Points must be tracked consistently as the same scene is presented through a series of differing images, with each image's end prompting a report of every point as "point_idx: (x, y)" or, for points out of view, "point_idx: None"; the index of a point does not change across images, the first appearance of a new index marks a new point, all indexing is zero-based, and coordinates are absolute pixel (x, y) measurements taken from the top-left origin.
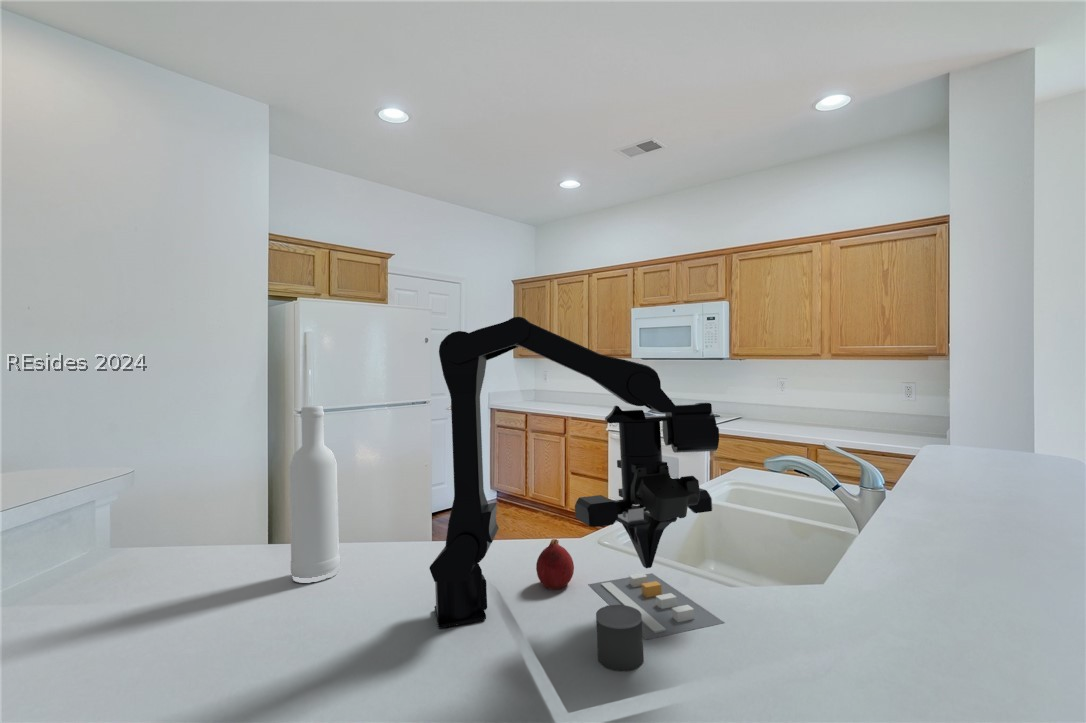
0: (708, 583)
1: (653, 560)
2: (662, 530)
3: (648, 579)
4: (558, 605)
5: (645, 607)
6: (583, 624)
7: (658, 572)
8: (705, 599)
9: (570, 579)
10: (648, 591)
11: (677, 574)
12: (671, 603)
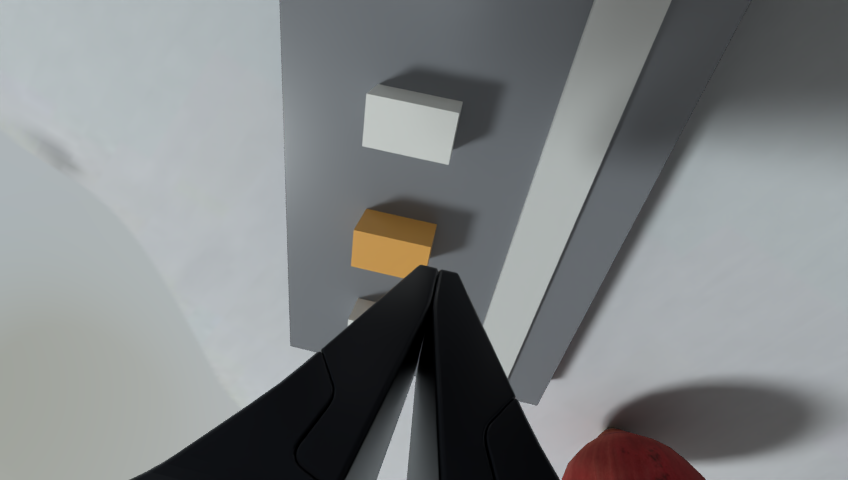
0: (132, 213)
1: (401, 281)
2: (181, 470)
3: (330, 322)
4: (687, 377)
5: (511, 157)
6: (758, 236)
7: (250, 353)
8: (204, 122)
9: (599, 447)
10: (423, 234)
11: (201, 314)
12: (405, 93)
